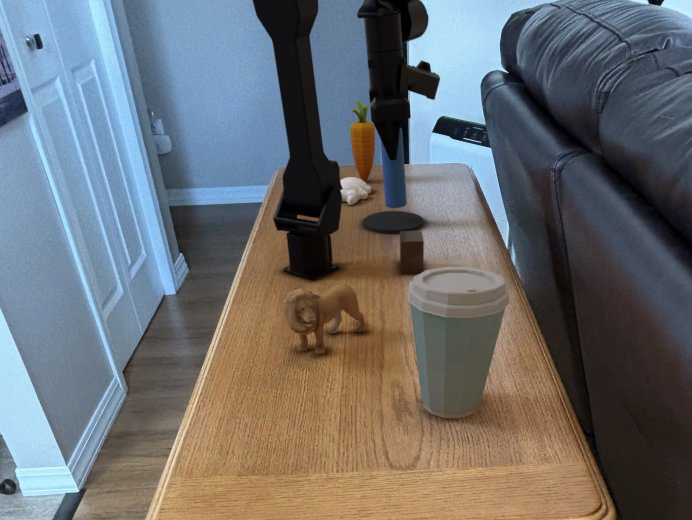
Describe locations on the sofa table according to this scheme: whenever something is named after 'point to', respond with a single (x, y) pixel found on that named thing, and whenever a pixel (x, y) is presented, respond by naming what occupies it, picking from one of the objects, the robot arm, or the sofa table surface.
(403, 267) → the lean block
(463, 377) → the disposable coffee cup
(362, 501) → the sofa table surface
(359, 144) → the carrot
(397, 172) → the tube
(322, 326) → the lion figurine
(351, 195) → the white turtle figurine
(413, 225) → the coaster
